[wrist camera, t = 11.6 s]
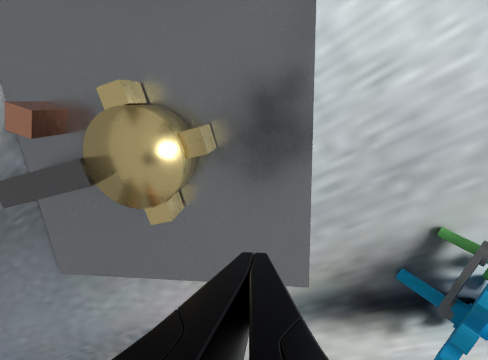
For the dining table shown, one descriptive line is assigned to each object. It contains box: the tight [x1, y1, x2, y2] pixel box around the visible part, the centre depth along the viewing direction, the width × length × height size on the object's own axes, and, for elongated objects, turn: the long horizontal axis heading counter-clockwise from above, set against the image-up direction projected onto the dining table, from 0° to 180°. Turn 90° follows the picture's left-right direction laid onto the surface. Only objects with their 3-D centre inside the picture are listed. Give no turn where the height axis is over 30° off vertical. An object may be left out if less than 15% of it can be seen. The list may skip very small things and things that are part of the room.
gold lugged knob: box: [0, 79, 217, 225], centre depth 19 cm, size 16×10×3 cm, turn 105°
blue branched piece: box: [396, 227, 488, 360], centre depth 19 cm, size 11×6×10 cm
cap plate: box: [0, 0, 316, 287], centre depth 19 cm, size 24×24×4 cm
